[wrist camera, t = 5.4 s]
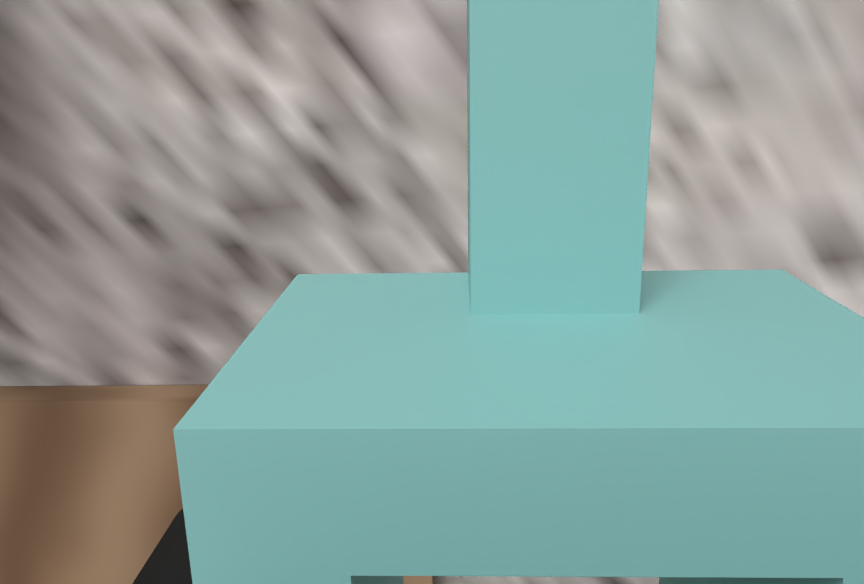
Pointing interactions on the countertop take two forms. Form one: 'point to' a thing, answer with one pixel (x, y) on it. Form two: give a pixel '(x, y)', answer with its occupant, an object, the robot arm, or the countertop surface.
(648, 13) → the teal square scoop
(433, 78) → the countertop surface
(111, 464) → the post base
